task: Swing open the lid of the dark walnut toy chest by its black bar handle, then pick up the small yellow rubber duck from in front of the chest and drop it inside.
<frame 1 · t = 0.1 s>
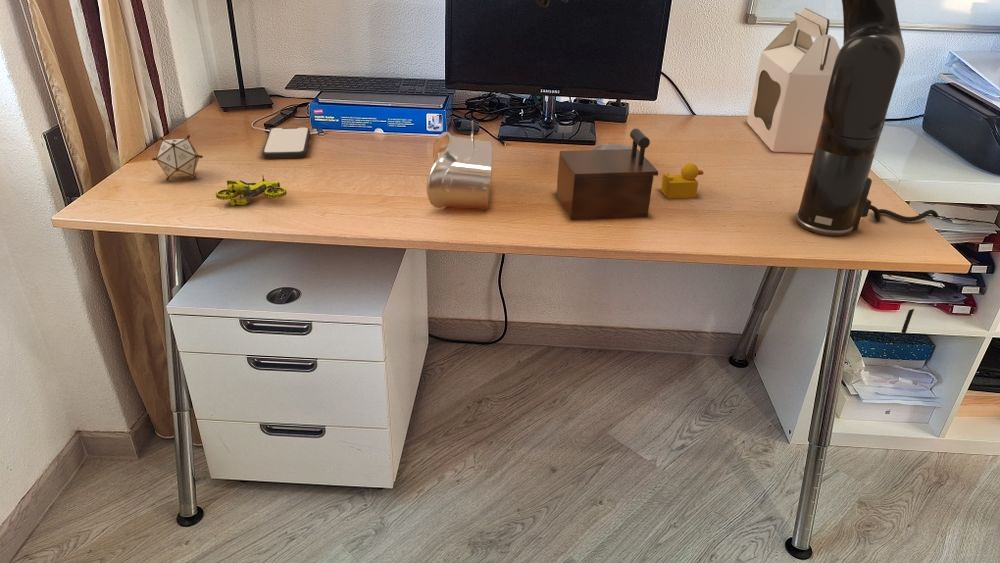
hand: (551, 3, 136), 31 cm above the table, tool tilted 20°, fingers open, 8 cm apart
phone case: (287, 146, 154), on the table
game die: (182, 178, 137), on the table
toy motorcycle: (254, 200, 129), on the table
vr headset: (458, 196, 134), on the table
chest lid: (608, 149, 126), point 11 cm above the table, hinge at 0.0°
gable box: (786, 138, 170), on the table
toy chest: (600, 205, 131), on the table
toy duck: (677, 194, 137), on the table
stone block: (610, 168, 149), on the table
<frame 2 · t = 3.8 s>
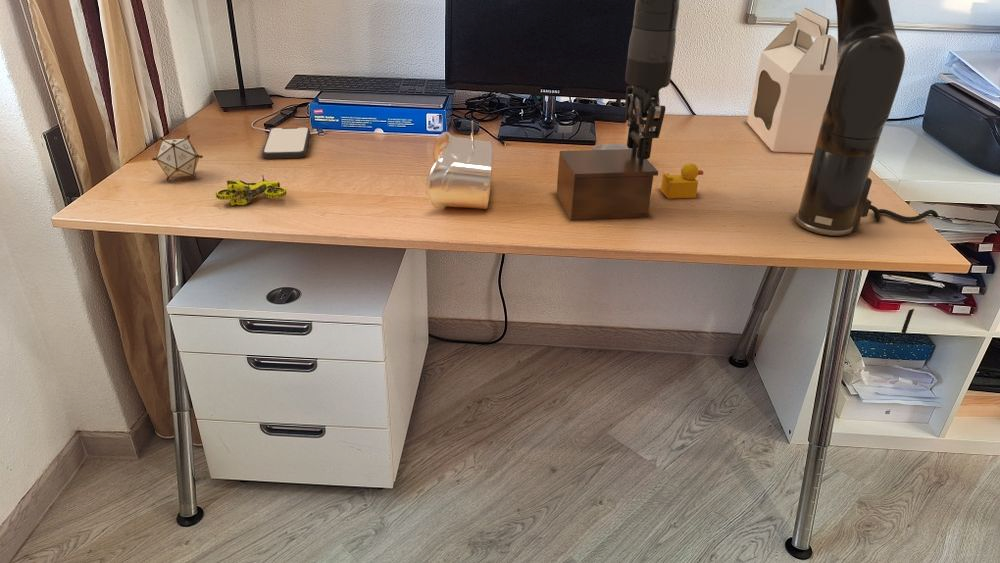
hand: (637, 152, 127), 10 cm above the table, tool pointing down, fingers closed on chest lid, 5 cm apart
chest lid: (608, 149, 126), point 11 cm above the table, hinge at 0.0°, touching gripper
everything else where it was.
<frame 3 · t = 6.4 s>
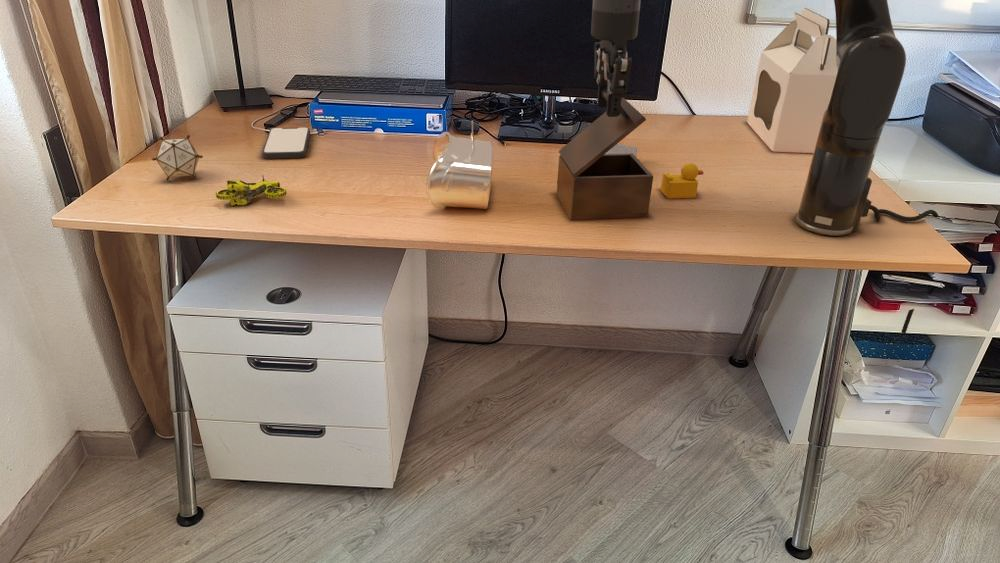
hand: (608, 110, 123), 18 cm above the table, tool pointing down, fingers closed on chest lid, 5 cm apart
chest lid: (591, 126, 123), point 15 cm above the table, hinge at 41.4°, touching gripper
everything else where it was.
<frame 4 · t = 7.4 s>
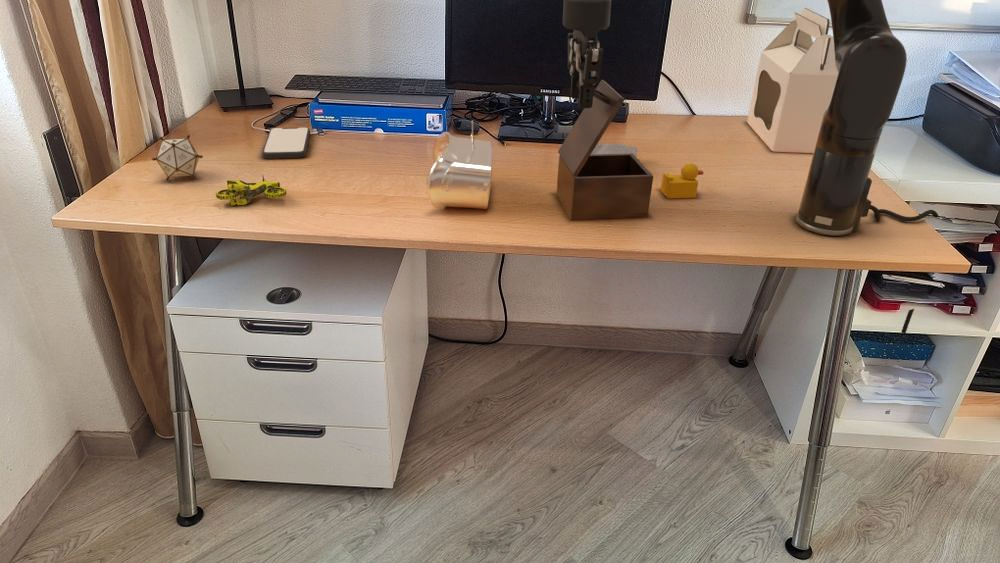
hand: (580, 102, 121), 19 cm above the table, tool pointing down, fingers closed on chest lid, 5 cm apart
chest lid: (577, 120, 123), point 16 cm above the table, hinge at 62.1°, touching gripper
everything else where it was.
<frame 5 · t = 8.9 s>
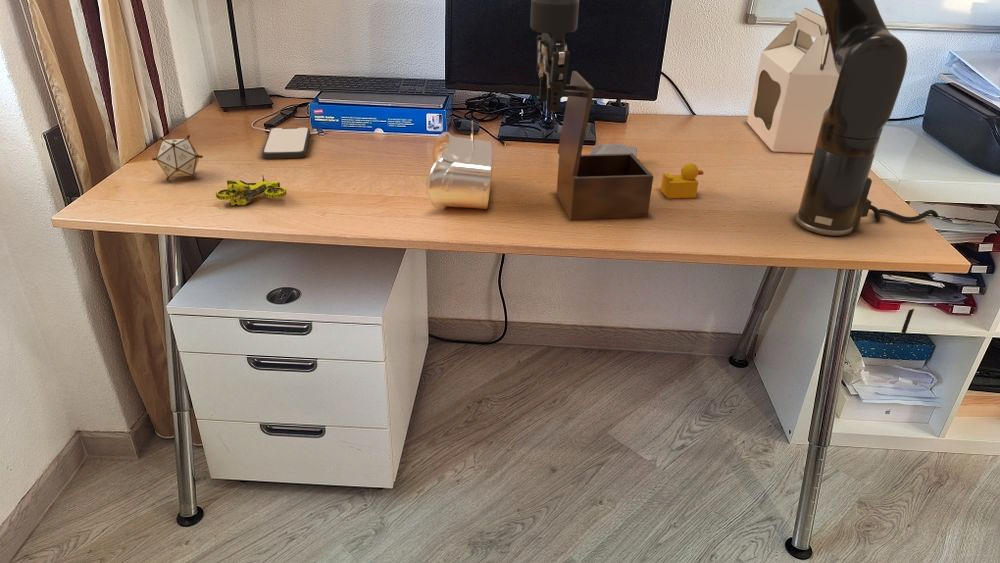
hand: (549, 105, 120), 19 cm above the table, tool pointing down, fingers closed on chest lid, 5 cm apart
chest lid: (560, 121, 122), point 16 cm above the table, hinge at 83.8°, touching gripper
everything else where it was.
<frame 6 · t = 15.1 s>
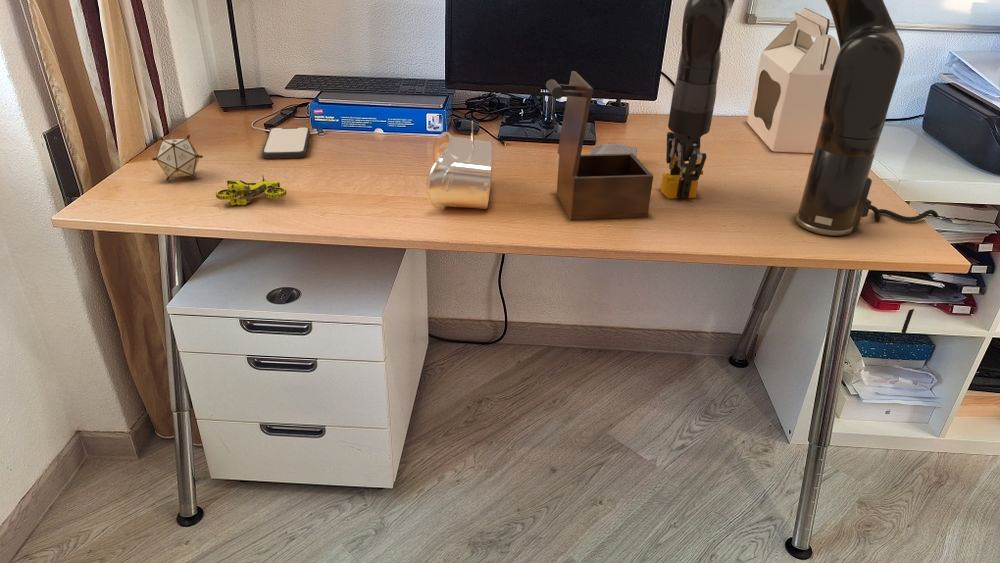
hand: (678, 192, 137), 0 cm above the table, tool pointing down, fingers closed on toy duck, 4 cm apart
chest lid: (560, 121, 122), point 16 cm above the table, hinge at 84.4°
toy duck: (677, 194, 137), on the table, touching gripper
everything else where it was.
when the fingers open (6 cm above the table, at t = 21.7 s): toy duck drops 5 cm, resting on toy chest.
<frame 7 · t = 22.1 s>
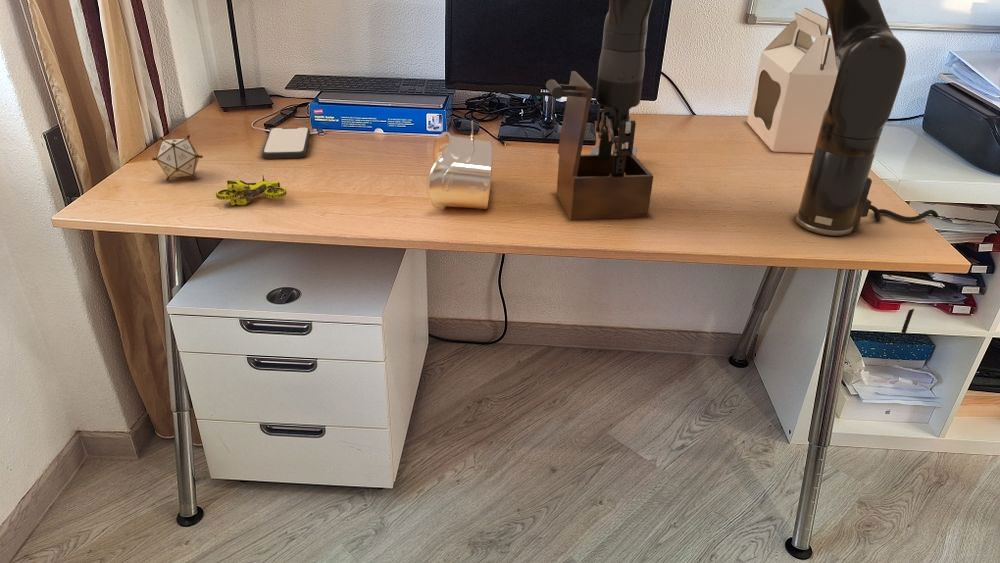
hand: (610, 167, 128), 7 cm above the table, tool pointing down, fingers open, 7 cm apart
toy duck: (606, 201, 131), point 1 cm above the table, touching toy chest
everything else where it was.
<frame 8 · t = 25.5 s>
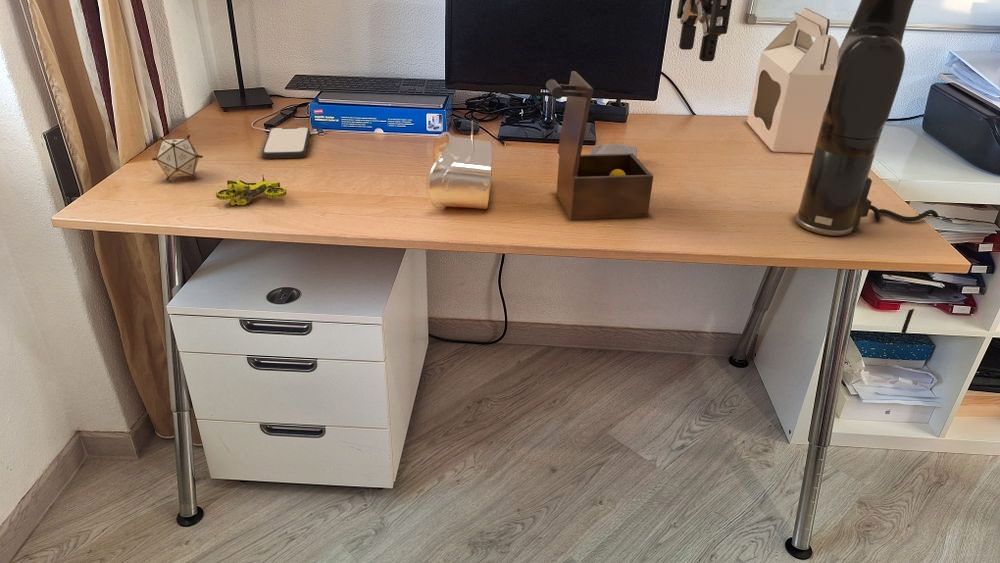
hand: (695, 54, 115), 28 cm above the table, tool pointing down, fingers open, 8 cm apart
nothing on the table moved.
at the end: chest lid at +84° (first picture: +0°); toy duck inside the target area in the toy chest (1.0 cm from its centre), point 0.8 cm above the toy chest's base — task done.
